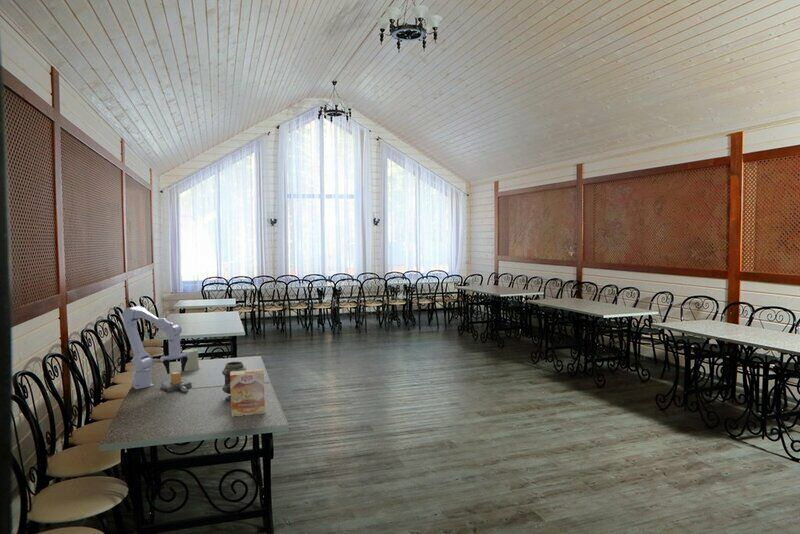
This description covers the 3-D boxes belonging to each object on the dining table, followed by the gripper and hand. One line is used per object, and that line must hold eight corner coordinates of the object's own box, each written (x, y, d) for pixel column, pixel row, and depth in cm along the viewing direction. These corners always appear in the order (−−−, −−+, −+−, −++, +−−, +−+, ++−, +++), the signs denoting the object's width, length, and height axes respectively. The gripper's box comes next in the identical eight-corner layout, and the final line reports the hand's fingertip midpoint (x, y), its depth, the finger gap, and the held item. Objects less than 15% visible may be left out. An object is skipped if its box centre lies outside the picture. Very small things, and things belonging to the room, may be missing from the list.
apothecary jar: (252, 395, 282) (250, 360, 281) (239, 402, 270) (237, 366, 269) (231, 393, 285) (230, 359, 284) (217, 401, 274) (216, 365, 272)
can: (195, 371, 332) (194, 351, 331) (180, 371, 332) (179, 351, 331) (201, 367, 341) (200, 347, 340) (186, 367, 342) (185, 348, 341)
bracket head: (174, 395, 285) (173, 390, 284) (161, 387, 300) (161, 382, 299) (197, 390, 292) (197, 385, 292) (183, 382, 307) (183, 378, 307)
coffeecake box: (231, 417, 250) (229, 375, 249) (231, 412, 257) (229, 371, 256) (265, 413, 254) (263, 372, 253) (264, 408, 261) (263, 368, 260)
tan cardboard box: (174, 388, 296) (173, 374, 296) (171, 387, 299) (170, 372, 299) (181, 387, 299) (180, 372, 298) (179, 385, 302) (178, 371, 301)
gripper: (162, 350, 290) (164, 376, 291) (190, 346, 299) (191, 371, 300) (158, 348, 295) (159, 373, 296) (185, 344, 304) (187, 368, 305)
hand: (175, 372), depth 298 cm, fingers open, 7 cm apart
